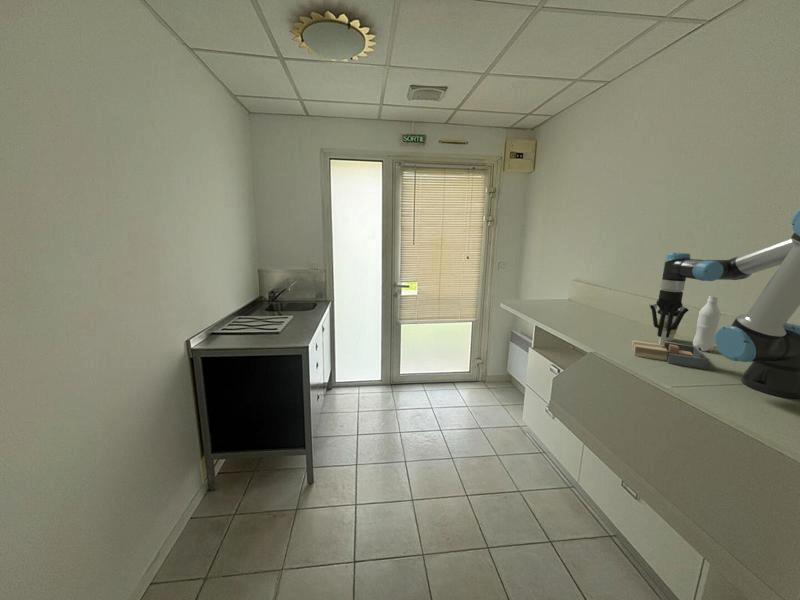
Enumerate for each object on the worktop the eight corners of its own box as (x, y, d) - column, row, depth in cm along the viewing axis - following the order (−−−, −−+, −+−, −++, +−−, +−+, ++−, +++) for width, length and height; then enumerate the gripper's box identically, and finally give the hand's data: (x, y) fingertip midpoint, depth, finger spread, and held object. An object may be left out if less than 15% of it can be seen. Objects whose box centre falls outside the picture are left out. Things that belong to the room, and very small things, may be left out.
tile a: (669, 357, 138) (677, 358, 137) (671, 347, 137) (679, 348, 136) (667, 354, 142) (674, 355, 141) (669, 344, 141) (676, 345, 140)
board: (666, 360, 136) (668, 351, 135) (634, 355, 141) (635, 346, 140) (661, 351, 146) (662, 343, 145) (631, 347, 151) (632, 339, 151)
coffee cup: (648, 337, 167) (653, 308, 163) (659, 335, 171) (664, 307, 168) (670, 343, 158) (676, 313, 155) (681, 340, 162) (687, 311, 159)
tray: (706, 369, 128) (708, 359, 127) (667, 363, 133) (669, 353, 133) (694, 355, 143) (696, 346, 142) (659, 349, 149) (661, 341, 148)
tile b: (679, 353, 136) (678, 358, 137) (693, 355, 134) (692, 360, 135) (676, 349, 140) (675, 355, 141) (690, 351, 138) (689, 357, 139)
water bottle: (716, 352, 146) (729, 298, 141) (698, 351, 147) (710, 297, 142) (704, 347, 153) (716, 294, 148) (687, 346, 154) (698, 294, 149)
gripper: (689, 290, 136) (678, 344, 141) (650, 287, 142) (641, 339, 147) (694, 293, 130) (683, 349, 134) (653, 289, 136) (644, 343, 141)
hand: (661, 344), depth 141 cm, fingers closed
